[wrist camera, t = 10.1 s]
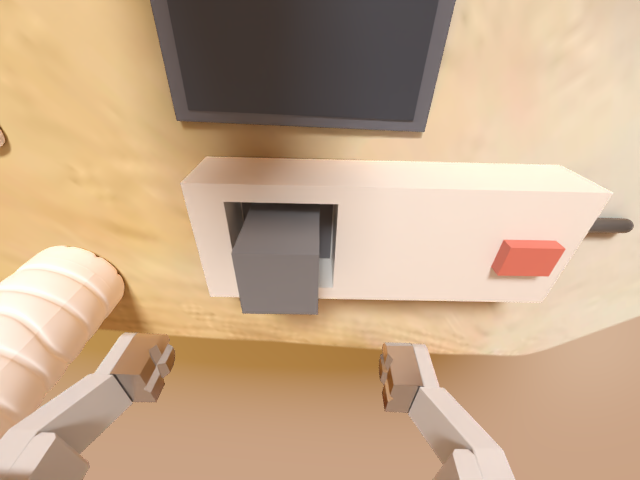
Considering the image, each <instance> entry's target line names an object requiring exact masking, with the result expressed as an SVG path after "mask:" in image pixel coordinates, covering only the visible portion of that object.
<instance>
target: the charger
mask: <svg viewBox="0 0 640 480" xmlns="http://www.w3.org/2000/svg"><path fill="white" fill-rule="evenodd" d="M319 217H320V204H300V203H256V202H252V205H251V207H250V209H249V212H248V214H247V217H246V219H245V221H244V224H243V226H242V229H241V231H240V233H239V236H238V238H237V241H236V243H235V245H234V248H233V250H232V253H231V255H232V260H233V266H234V271H235V276H236V281H237V287H238V292H239V297H240V302H241V307H242V313H250V314H316V315H318V287H319Z"/></svg>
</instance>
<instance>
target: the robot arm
mask: <svg viewBox="0 0 640 480" xmlns="http://www.w3.org/2000/svg"><path fill="white" fill-rule="evenodd" d="M169 341H170V339H169V337H168V335H167V334H147V333H127V332H125V333H123V334H122V335H121V336H120V337H119V338H118V340H117V341H116V343H115V344H114V345H113V347H112V348H111V350H110V351H109V353H108V354H107V355H106V357H105V358H104V360H103V361H102V362H101V364H100V366H99V367H98V368H97V370H96V371H95V373H94V374H88V375H87V376H86V377H84V378H83V379H81V380H80V381H78V382H77V383H76V384H74V385H73V386H71V387H70V388H68V389H67V390H65V391H64V392H62V393H61V394H59V395H58V396H56V397H55V398H53V399H52V400H51V401H49V402H48V403H46V404H45V405H43V406H42V407H40V408H39V409H37V410H36V411H35V412H33V413H32V414H30V415H29V416H27V417H26V418H24V419H23V420H21V421H20V422H19V423H17V424H16V425H14V426H13V427H11V428H10V429H8V431H7V432H6V433H5V434H4V436H3V437H2V438H1V439H0V480H83V478H84V476H85V475H86V473H87V471H88V469H89V467H90V466H89V462H88V461H87V460H86V459H84V458H83V457H82V456H81V455H80V453H81V452H83V451H84V450H85V449H86V448H87V447H88V446H89V445H90V444H91V443H92V442H93V441H94V440H95V439H96V438H97V437H98V436H99V435H100V434H101V433H102V432H103V431H104V430H105V429H106V428H108V427H109V426H110V424H112V422H114V421H115V420H116V419H117V418H118V417H119V416H120V415H121V414H122V413H123V412H124V411H125V410H126V409H127V408H128V407H129V406H130V405H132V402H156V401H157V399H158V397H159V395H160V393H161V391H162V389H163V386H164V385H165V383H164V379H163V378H164V377H165V376H166V375H168V374H169V373H170V371H171V369H172V367H173V365H174V360H175V350H174V348H173V347H172V346H171V345H169V344H168V343H169ZM382 351H383V354H381V355H380V360H379V375H380V381H381V382H382V383H383V385H384V387H383V391H382V395H383V402H384V408H385V411H389V412H403V413H408V415H409V416H410V418H411V419H412V420H413V422H414V423H415V425H416V426H417V428H418V429H419V431H420V432H421V434H422V435H423V436H424V438H425V439H426V441H427V442H428V444H429V445H430V446H431V448H432V449H433V451H434V452H435V454H436V455H437V457H438V458H439V459H440V461H441V462H442V464H443V466H442V467H441V469H440V470H439V472H438V473H437V474H436V476H435V477H434V479H433V480H515V478H514V475H513V473H512V471H511V468H510V466H509V463H508V461H507V459H506V457H505V454H504V451H503V449H501V447H500V446H499V445H497V443H496V442H495V441H494V440H493V439H492V438H491V437H490V436H489V435H488V434H487V433H486V432H485V431H484V429H483V428H482V427H481V426H480V425H479V424H478V423H477V422H476V421H475V420H474V419H473V418H472V417H471V416H470V415H469V414H468V413H467V412H466V411H465V409H464V408H463V407H462V406H461V405H460V404H459V403H458V402H457V401H456V400H455V399H454V398H453V397H452V396H451V395H450V394H449V393H448V392H447V390H446V389H445V388H440V387H439V383H438V381H437V377H436V374H435V371H434V368H433V365H432V361H431V359H430V355H429V352H428V349H427V347H426V345H425V344H410V343H384V344H383V347H382Z"/></svg>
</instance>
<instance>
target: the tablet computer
mask: <svg viewBox="0 0 640 480" xmlns="http://www.w3.org/2000/svg"><path fill="white" fill-rule="evenodd" d="M4 143H5V137H4V135H3V133H2V131H1V129H0V147H1V146H2V145H4Z"/></svg>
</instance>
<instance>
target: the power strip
mask: <svg viewBox="0 0 640 480" xmlns="http://www.w3.org/2000/svg"><path fill="white" fill-rule="evenodd" d="M180 184H181V188H182V192H183V196H184V200H185V203H186V207H187V211H188V215H189V218H190V222H191V226H192V230H193V233H194V237H195V241H196V245H197V248H198V252H199V256H200V260H201V263H202V267H203V271H204V275H205V278H206V282H207V286H208V290H209V293H210V297H239V292H238V287H237V281H236V276H235V271H234V266H233V260H232V255H231V253H232V250H233V248H234V245H235V243H236V241H237V238H238V236H239V233H240V231H241V229H242V226H243V224H244V221H245V219H246V217H247V214H248V212H249V209H250V207H251V205H252V202H256V203H300V204H320V217H319V287H318V299H365V300H420V301H475V302H530V303H542V302H543V300H544V299H545V297H546V296H547V294H548V293H549V291H550V290H551V288H552V287H553V285H554V284H555V282H556V281H557V279H558V277H559V276H560V274H561V273H562V271H563V270H564V268H565V267H566V265H567V264H568V262H569V261H570V259H571V258H572V256H573V254H574V253H575V251H576V250H577V248H578V247H579V245H580V244H581V242H582V241H583V239H584V238H585V236H586V235H587V233H588V232H595V233H627V232H629V231H631V230H632V229H633V227H634V224H633V222H632V221H630V220H629V219H621V218H598V216H599V215H600V213H601V212H602V210H603V208H604V207H605V205H606V204H607V202H608V201H609V199H610V198H611V196H612V195H613V192H611V191H609V190H607V189H605V188H603V187H601V186H599V185H598V184H596V183H594V182H592V181H590V180H588V179H586V178H584V177H582V176H581V175H579V174H577V173H575V172H573V171H571V170H569V169H567V168H565V167H563V166H562V165H541V164H499V163H458V162H417V161H375V160H334V159H293V158H251V157H210V156H206V157H205V158H204V159H203V160H202V161H201V162H200V163H199V164H198V165H197V166H196V167H195V168H194V169H193V170H192V171H191V172H190V173H189V174H188V175H187V176H186V177H185V178H184V179H183V181H182V182H181V183H180Z"/></svg>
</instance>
